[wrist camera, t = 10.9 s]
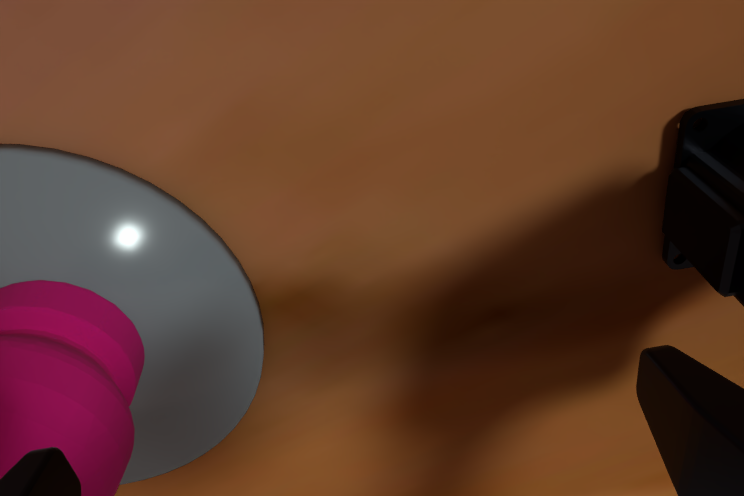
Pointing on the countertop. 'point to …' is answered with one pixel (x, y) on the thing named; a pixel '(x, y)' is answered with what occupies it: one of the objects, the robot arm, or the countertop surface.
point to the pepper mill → (68, 380)
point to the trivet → (141, 292)
